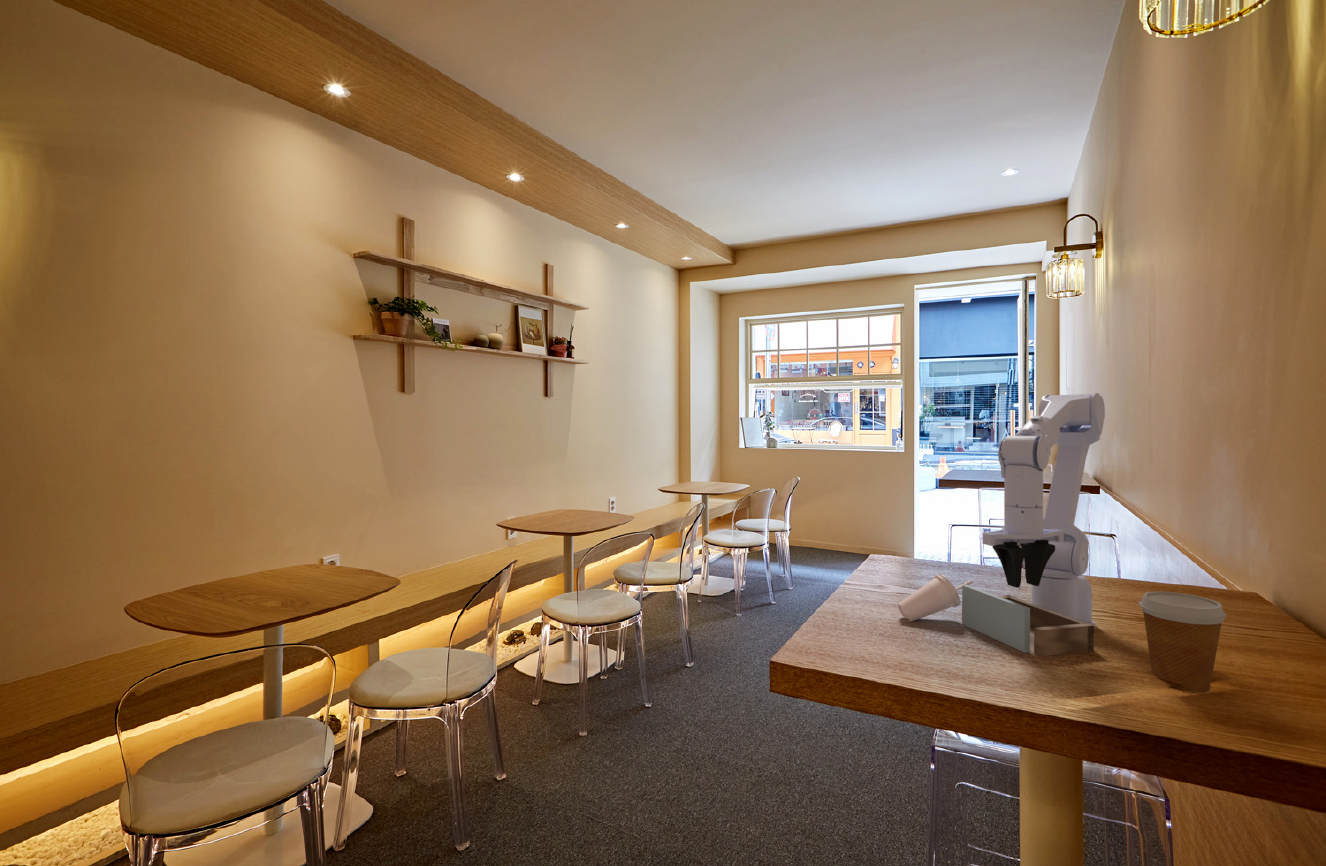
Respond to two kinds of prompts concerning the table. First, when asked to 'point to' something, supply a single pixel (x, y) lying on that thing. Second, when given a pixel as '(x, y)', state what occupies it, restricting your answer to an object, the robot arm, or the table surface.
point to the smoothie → (931, 599)
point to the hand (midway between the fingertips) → (1023, 585)
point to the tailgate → (996, 617)
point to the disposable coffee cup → (1182, 638)
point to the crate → (1056, 631)
